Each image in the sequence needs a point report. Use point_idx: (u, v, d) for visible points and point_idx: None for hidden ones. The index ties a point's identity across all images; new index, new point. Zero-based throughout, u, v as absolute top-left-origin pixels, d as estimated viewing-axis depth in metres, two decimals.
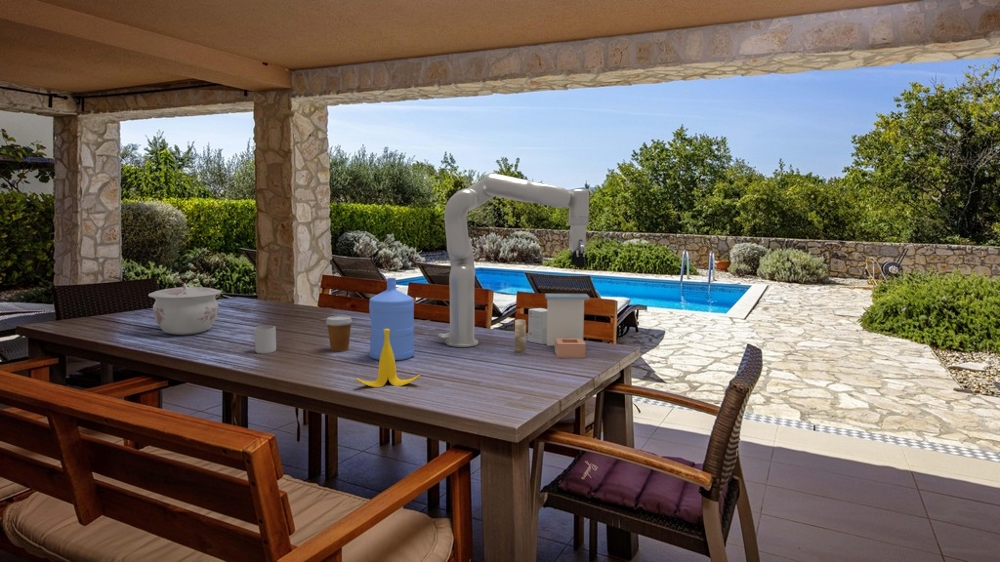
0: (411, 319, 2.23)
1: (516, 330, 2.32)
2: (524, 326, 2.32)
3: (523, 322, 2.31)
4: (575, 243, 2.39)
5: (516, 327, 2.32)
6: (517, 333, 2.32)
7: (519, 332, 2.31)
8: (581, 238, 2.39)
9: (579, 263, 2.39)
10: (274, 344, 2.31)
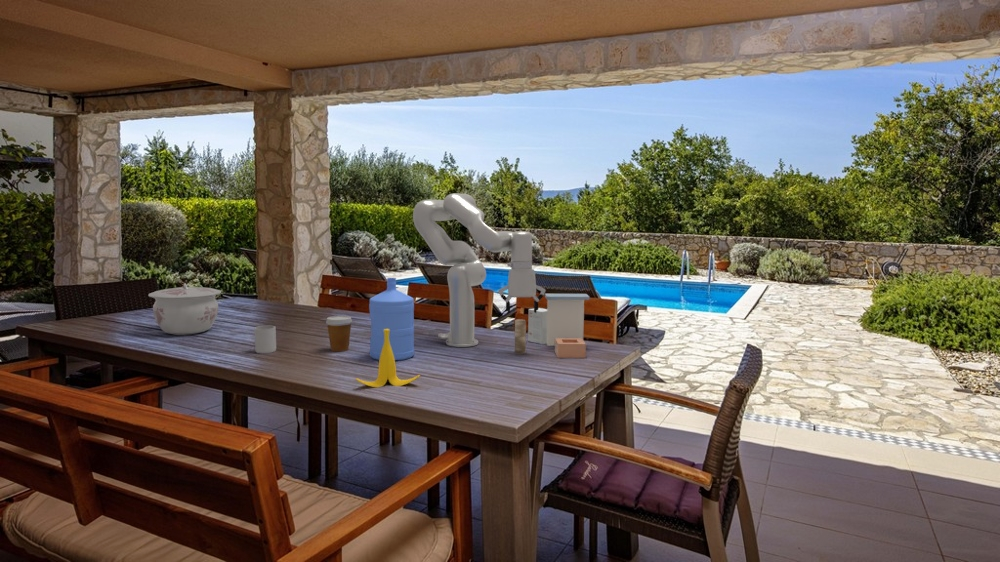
0: (411, 319, 2.23)
1: (516, 330, 2.32)
2: (524, 326, 2.32)
3: (523, 322, 2.31)
4: (536, 288, 2.30)
5: (516, 327, 2.32)
6: (517, 333, 2.32)
7: (519, 332, 2.31)
8: None
9: None
10: (274, 344, 2.31)
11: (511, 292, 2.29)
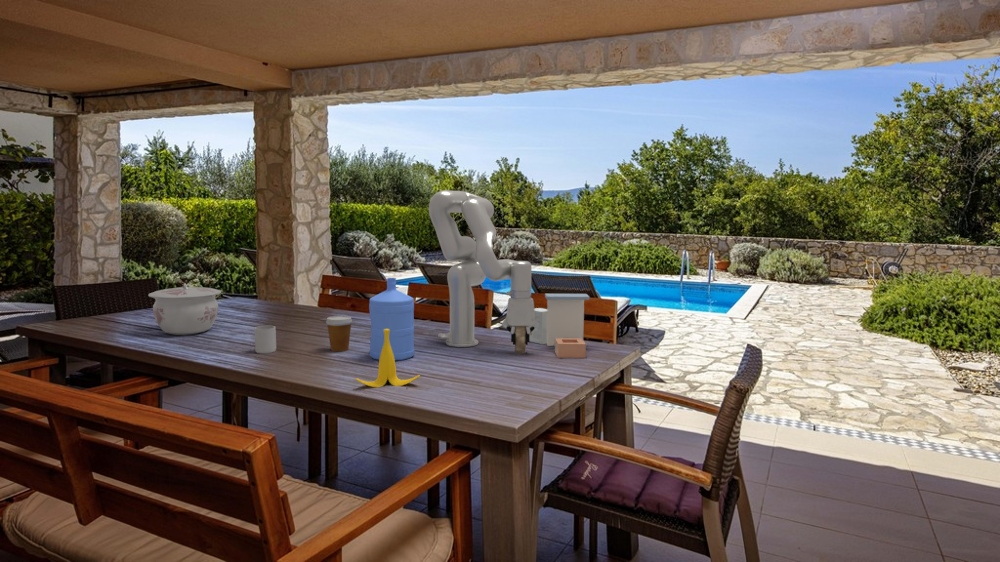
0: (411, 319, 2.23)
1: (516, 330, 2.32)
2: (524, 326, 2.32)
3: None
4: (534, 317, 2.31)
5: (516, 327, 2.32)
6: (517, 333, 2.32)
7: (519, 332, 2.31)
8: None
9: None
10: (274, 344, 2.31)
11: (510, 321, 2.30)
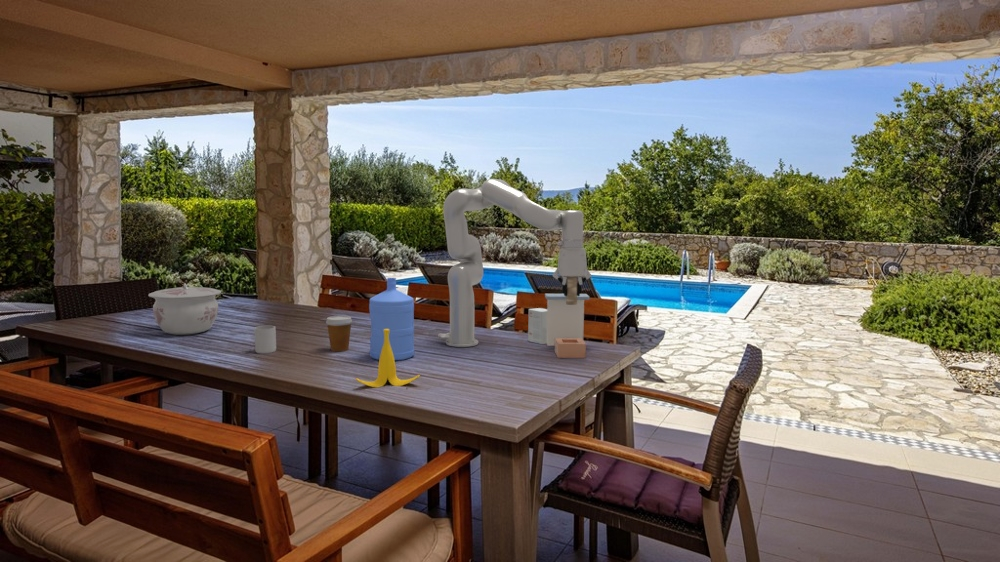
0: (411, 319, 2.23)
1: (568, 281, 2.27)
2: None
3: None
4: (586, 267, 2.26)
5: (568, 278, 2.27)
6: (569, 283, 2.27)
7: (571, 282, 2.26)
8: None
9: None
10: (274, 344, 2.31)
11: (562, 271, 2.25)
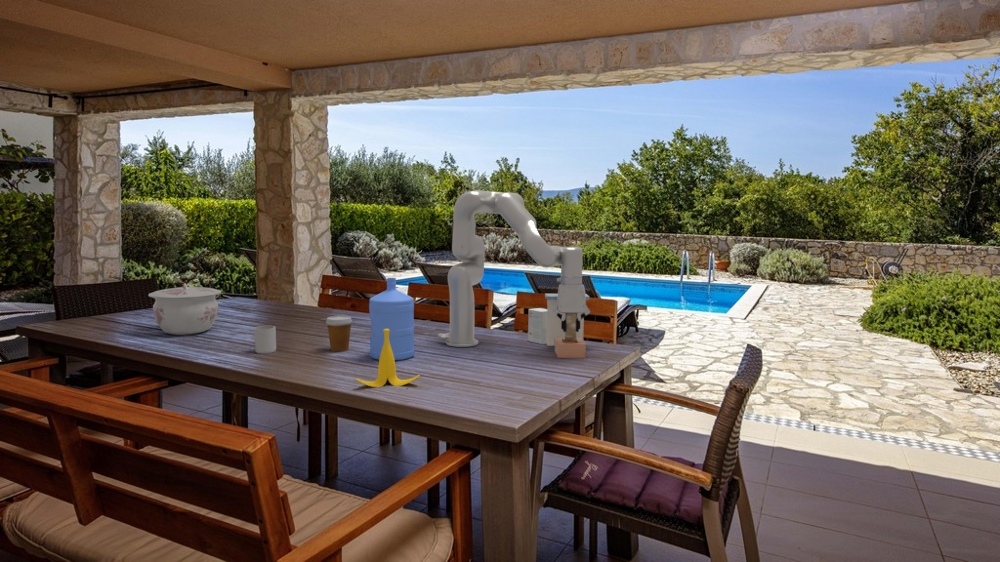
0: (411, 319, 2.23)
1: (567, 317, 2.29)
2: (575, 313, 2.28)
3: None
4: (585, 304, 2.28)
5: (567, 314, 2.29)
6: (568, 319, 2.28)
7: (570, 318, 2.28)
8: None
9: None
10: (274, 344, 2.31)
11: (561, 308, 2.27)
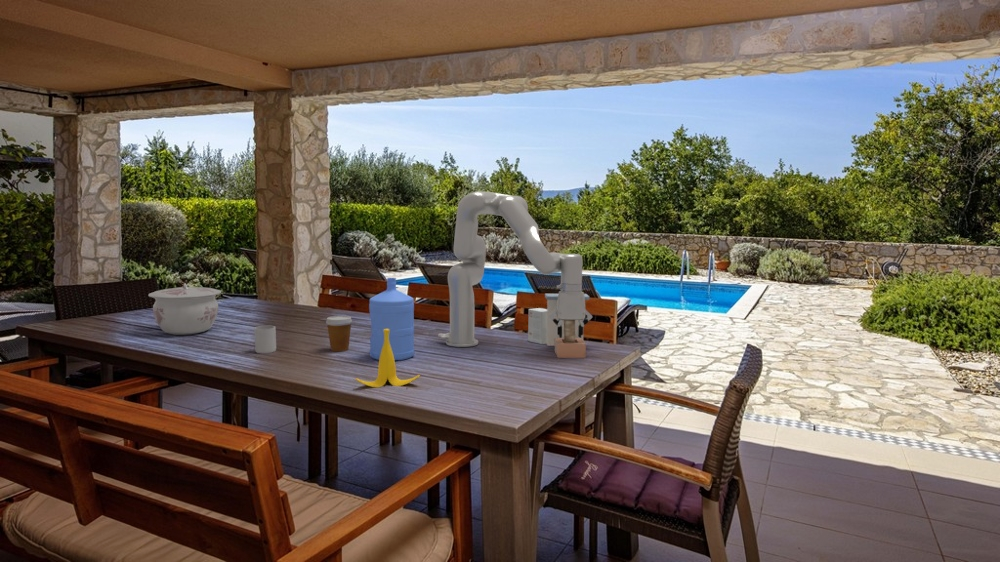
0: (411, 319, 2.23)
1: (565, 329, 2.29)
2: (573, 325, 2.29)
3: (572, 321, 2.28)
4: (585, 311, 2.28)
5: (565, 326, 2.29)
6: (567, 332, 2.29)
7: (569, 331, 2.29)
8: None
9: None
10: (274, 344, 2.31)
11: (560, 315, 2.27)
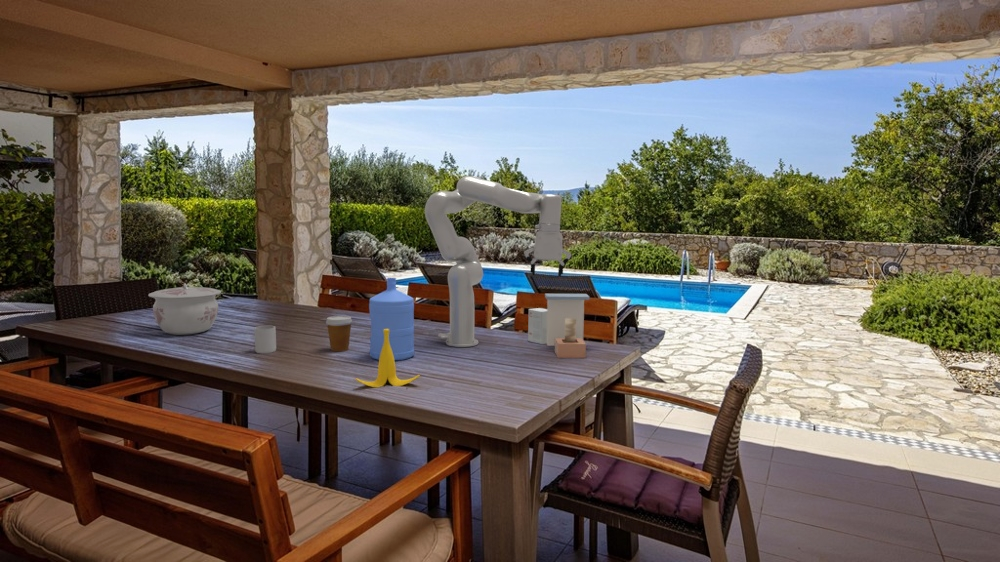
0: (411, 319, 2.23)
1: (566, 329, 2.29)
2: (574, 325, 2.29)
3: (573, 321, 2.29)
4: (562, 252, 2.29)
5: (566, 326, 2.29)
6: (568, 332, 2.29)
7: (570, 331, 2.29)
8: None
9: None
10: (274, 344, 2.31)
11: (537, 254, 2.28)
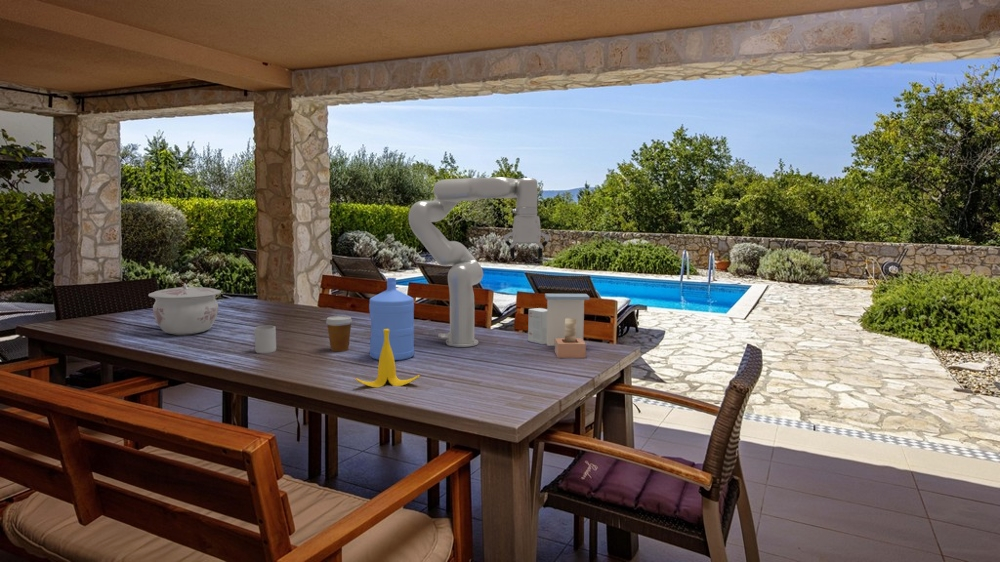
0: (411, 319, 2.23)
1: (566, 329, 2.29)
2: (574, 325, 2.29)
3: (574, 321, 2.29)
4: (540, 234, 2.32)
5: (566, 326, 2.29)
6: (568, 332, 2.29)
7: (570, 331, 2.29)
8: None
9: None
10: (274, 344, 2.31)
11: (516, 238, 2.31)
